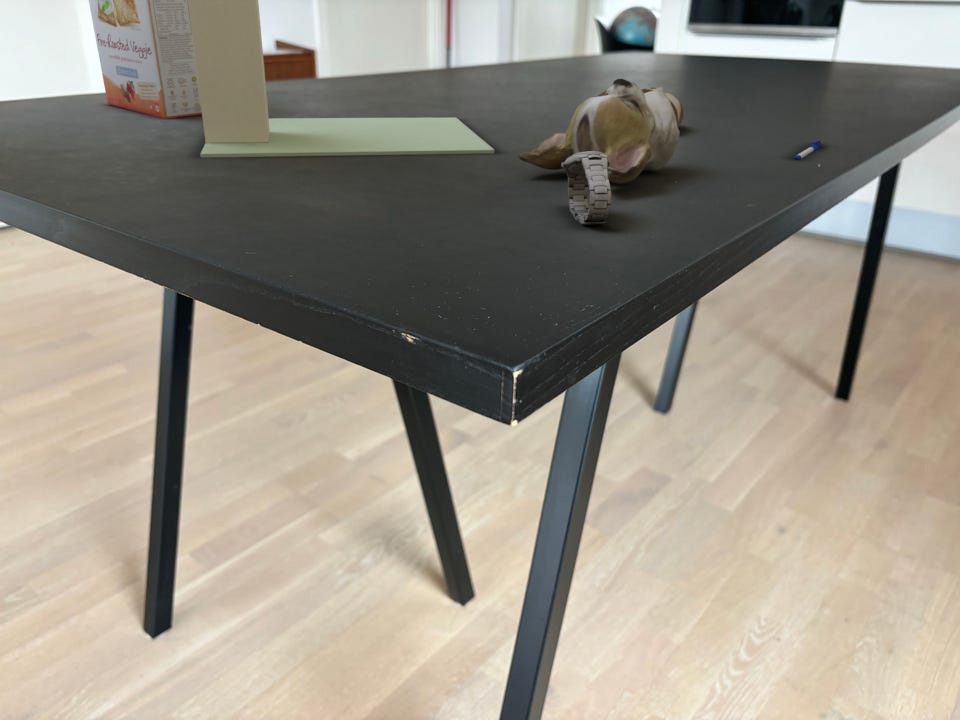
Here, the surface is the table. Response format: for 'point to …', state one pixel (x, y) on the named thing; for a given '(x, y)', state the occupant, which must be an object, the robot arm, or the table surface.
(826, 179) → the table surface
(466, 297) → the table surface
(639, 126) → the ceramic sculpture
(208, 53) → the cream rectangular block
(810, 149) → the blue and white marker
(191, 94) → the cracker box
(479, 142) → the mat
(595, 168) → the wristwatch
